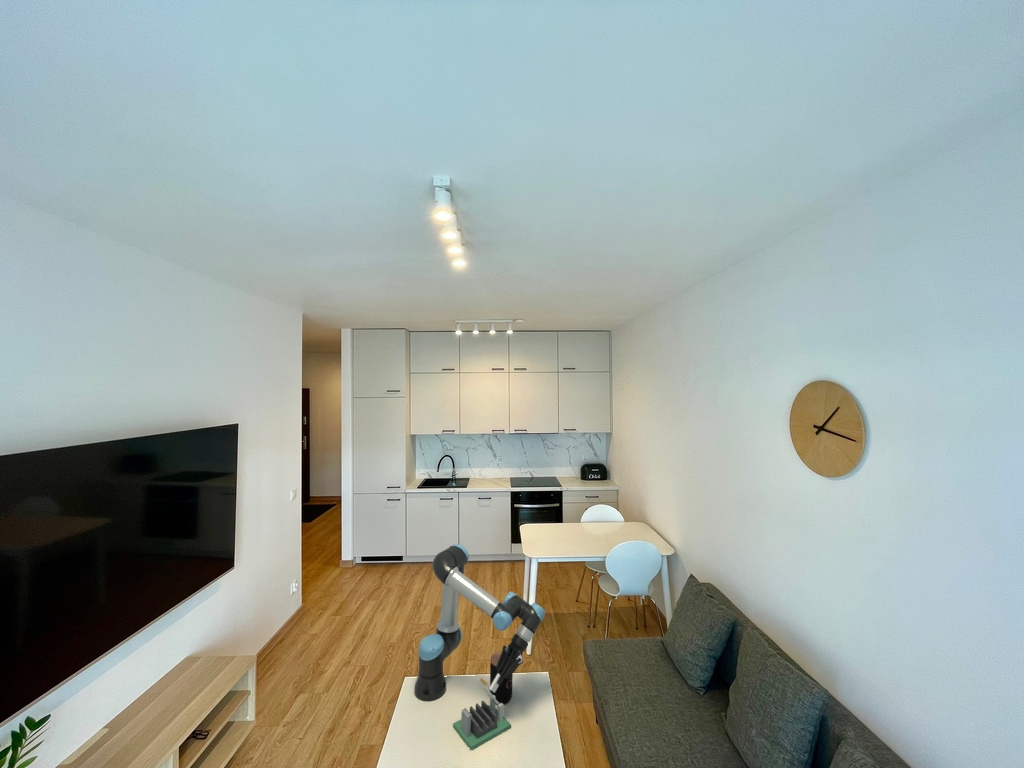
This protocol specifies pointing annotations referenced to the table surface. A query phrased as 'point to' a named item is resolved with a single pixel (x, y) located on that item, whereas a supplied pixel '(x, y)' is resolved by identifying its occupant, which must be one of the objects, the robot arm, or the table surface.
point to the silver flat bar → (488, 690)
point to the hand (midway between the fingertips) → (491, 690)
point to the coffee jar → (505, 689)
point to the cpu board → (481, 724)
